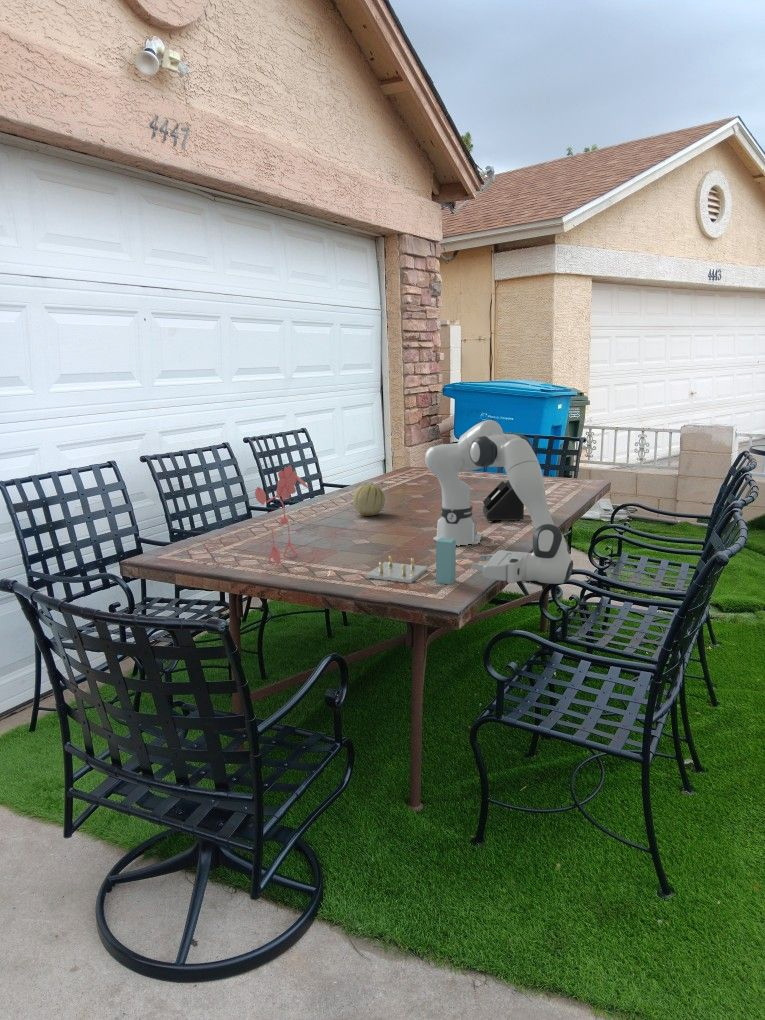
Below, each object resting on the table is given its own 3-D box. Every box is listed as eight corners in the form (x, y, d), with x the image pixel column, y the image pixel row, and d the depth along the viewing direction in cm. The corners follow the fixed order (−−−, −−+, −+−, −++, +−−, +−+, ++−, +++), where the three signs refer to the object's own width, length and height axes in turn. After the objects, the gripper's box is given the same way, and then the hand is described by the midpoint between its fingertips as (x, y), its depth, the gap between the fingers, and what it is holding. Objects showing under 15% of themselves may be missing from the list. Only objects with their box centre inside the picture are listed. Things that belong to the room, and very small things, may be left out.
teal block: (441, 578, 243) (441, 537, 240) (455, 579, 241) (455, 538, 238) (436, 582, 238) (436, 541, 235) (450, 584, 236) (450, 542, 233)
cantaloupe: (350, 518, 331) (349, 486, 328) (356, 511, 345) (355, 480, 342) (382, 519, 329) (382, 486, 325) (387, 512, 343) (387, 480, 340)
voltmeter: (482, 514, 335) (482, 471, 330) (518, 514, 334) (519, 471, 330) (485, 523, 319) (486, 477, 315) (523, 522, 318) (524, 477, 314)
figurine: (251, 567, 258) (248, 469, 250) (294, 550, 280) (292, 459, 272) (286, 574, 251) (284, 473, 243) (328, 555, 273) (327, 463, 265)
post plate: (384, 565, 258) (384, 552, 257) (427, 569, 252) (427, 556, 251) (366, 578, 244) (365, 564, 243) (410, 583, 238) (410, 569, 237)
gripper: (526, 547, 237) (485, 543, 243) (511, 565, 219) (467, 560, 224) (525, 566, 239) (484, 562, 244) (511, 585, 220) (467, 580, 226)
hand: (476, 561), depth 234 cm, fingers open, 8 cm apart
